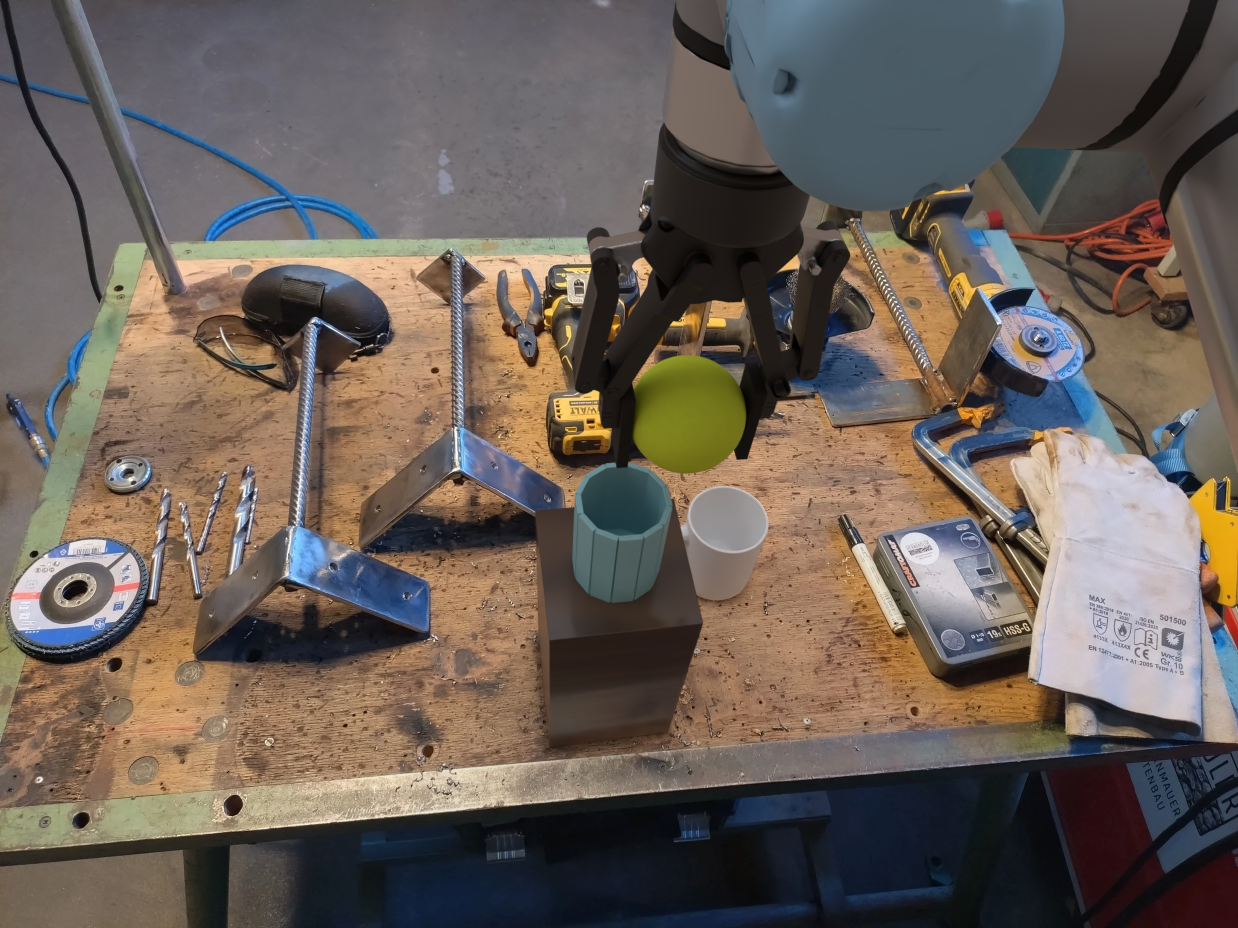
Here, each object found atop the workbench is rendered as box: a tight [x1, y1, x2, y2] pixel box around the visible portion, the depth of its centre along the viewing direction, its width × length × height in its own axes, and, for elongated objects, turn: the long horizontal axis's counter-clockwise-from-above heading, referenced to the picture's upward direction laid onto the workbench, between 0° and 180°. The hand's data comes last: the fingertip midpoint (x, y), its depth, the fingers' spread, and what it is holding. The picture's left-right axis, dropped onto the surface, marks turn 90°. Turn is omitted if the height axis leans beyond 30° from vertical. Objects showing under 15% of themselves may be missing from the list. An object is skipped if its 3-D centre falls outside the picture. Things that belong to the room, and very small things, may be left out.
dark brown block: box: [534, 498, 704, 749], centre depth 74 cm, size 12×12×24 cm
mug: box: [680, 485, 770, 601], centre depth 89 cm, size 9×12×11 cm
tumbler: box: [572, 461, 672, 603], centre depth 61 cm, size 7×7×9 cm
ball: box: [631, 354, 746, 475], centre depth 52 cm, size 8×8×8 cm
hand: (679, 447), depth 55 cm, fingers closed on ball, 7 cm apart
